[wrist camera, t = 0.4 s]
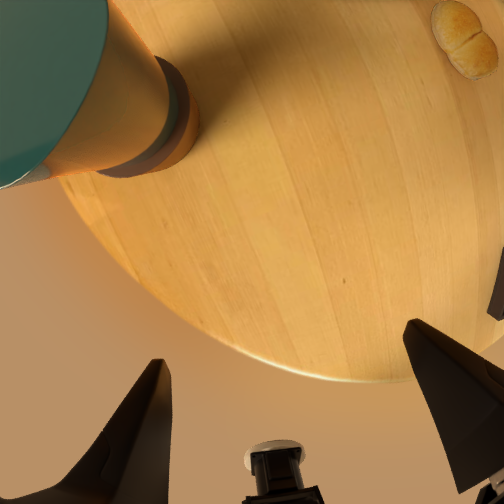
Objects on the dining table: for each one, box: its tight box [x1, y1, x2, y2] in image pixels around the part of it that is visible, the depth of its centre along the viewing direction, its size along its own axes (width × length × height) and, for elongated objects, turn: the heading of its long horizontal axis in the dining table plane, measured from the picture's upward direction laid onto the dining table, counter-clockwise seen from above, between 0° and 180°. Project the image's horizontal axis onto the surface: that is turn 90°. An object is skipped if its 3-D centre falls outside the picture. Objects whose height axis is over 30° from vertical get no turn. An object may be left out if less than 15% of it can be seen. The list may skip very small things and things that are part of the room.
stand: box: [96, 55, 200, 178], centre depth 16 cm, size 7×7×6 cm
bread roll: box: [431, 0, 498, 81], centre depth 16 cm, size 8×9×4 cm
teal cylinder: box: [0, 0, 179, 189], centre depth 8 cm, size 6×6×10 cm
